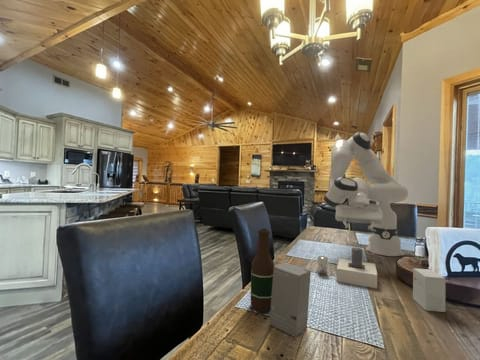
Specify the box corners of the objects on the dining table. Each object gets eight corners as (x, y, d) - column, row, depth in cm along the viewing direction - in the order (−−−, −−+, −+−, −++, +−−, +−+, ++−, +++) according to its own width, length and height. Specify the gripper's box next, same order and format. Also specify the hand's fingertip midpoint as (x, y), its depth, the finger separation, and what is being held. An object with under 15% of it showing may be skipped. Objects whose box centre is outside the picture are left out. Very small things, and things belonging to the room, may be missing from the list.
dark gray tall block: (351, 275, 103) (351, 247, 103) (361, 277, 101) (362, 248, 101) (351, 279, 100) (351, 249, 100) (362, 281, 98) (362, 250, 98)
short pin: (318, 271, 108) (318, 255, 108) (327, 273, 106) (328, 256, 106) (316, 274, 104) (317, 257, 104) (326, 276, 102) (327, 259, 102)
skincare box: (268, 325, 67) (270, 266, 67) (283, 315, 72) (284, 260, 72) (296, 339, 61) (297, 275, 61) (310, 327, 66) (311, 268, 66)
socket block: (339, 269, 110) (339, 258, 110) (374, 275, 104) (374, 263, 104) (336, 281, 97) (336, 268, 97) (377, 288, 91) (377, 274, 91)
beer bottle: (245, 303, 78) (247, 227, 78) (267, 299, 81) (268, 226, 81) (256, 316, 71) (258, 232, 71) (280, 311, 74) (281, 231, 74)
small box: (445, 313, 75) (446, 278, 75) (424, 310, 76) (425, 276, 76) (431, 300, 83) (431, 269, 83) (412, 298, 84) (413, 267, 84)
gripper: (335, 200, 122) (333, 222, 114) (382, 202, 114) (384, 227, 105) (335, 208, 127) (334, 230, 118) (381, 210, 118) (383, 235, 109)
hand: (358, 229), depth 111 cm, fingers open, 8 cm apart
